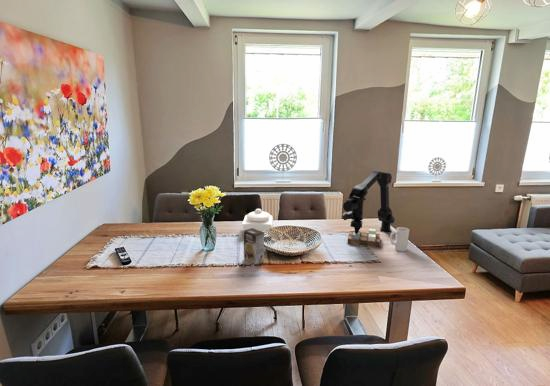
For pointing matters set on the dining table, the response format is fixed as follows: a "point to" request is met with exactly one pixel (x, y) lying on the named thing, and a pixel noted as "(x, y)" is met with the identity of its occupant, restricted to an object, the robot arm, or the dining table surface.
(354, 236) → the key slate
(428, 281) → the dining table surface
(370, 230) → the key sage
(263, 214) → the white lidded jar
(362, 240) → the brown shallow tray
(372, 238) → the cream white cube
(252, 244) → the coffee box
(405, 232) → the mug
